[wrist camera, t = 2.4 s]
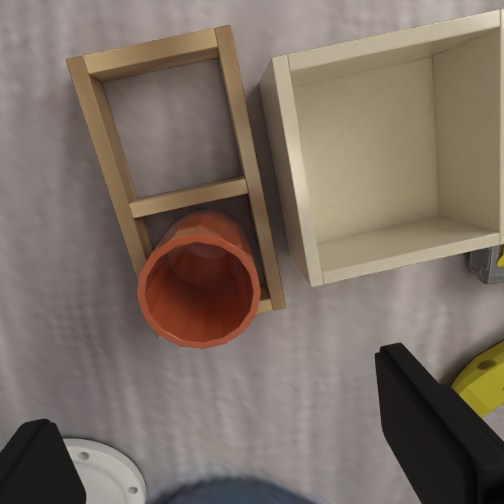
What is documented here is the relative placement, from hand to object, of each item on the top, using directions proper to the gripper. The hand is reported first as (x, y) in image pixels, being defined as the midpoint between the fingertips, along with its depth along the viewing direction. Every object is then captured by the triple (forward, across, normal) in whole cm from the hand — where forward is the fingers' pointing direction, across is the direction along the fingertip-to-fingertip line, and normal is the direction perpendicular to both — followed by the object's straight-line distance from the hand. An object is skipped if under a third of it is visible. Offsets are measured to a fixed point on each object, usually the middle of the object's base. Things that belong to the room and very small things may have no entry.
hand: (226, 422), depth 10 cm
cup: (+17, +1, 0) cm, 17 cm away
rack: (+17, +1, -5) cm, 18 cm away
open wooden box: (+18, -11, -5) cm, 21 cm away
